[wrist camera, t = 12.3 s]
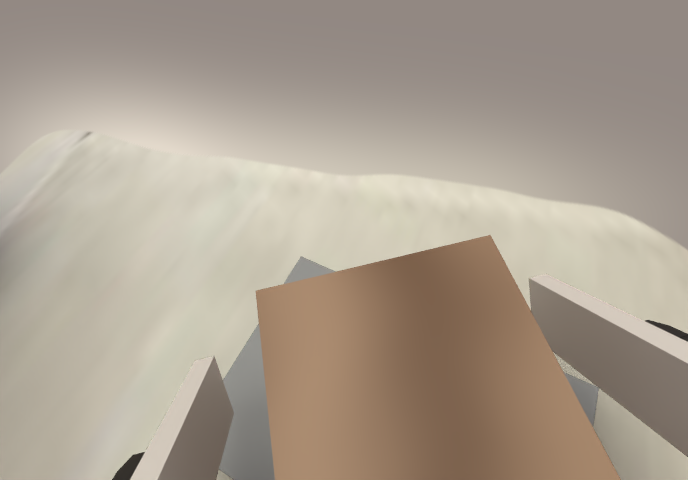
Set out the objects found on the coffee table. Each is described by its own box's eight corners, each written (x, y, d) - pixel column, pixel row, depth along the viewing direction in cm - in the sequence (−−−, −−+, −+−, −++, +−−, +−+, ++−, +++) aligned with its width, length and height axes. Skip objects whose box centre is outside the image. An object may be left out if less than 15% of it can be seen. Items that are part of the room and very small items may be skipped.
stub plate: (195, 443, 19) (97, 445, 12) (304, 266, 24) (278, 197, 17) (536, 679, 14) (698, 912, 7) (583, 391, 19) (702, 364, 12)
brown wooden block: (339, 520, 16) (292, 646, 6) (312, 364, 19) (255, 290, 10) (484, 479, 16) (651, 537, 7) (432, 334, 20) (490, 235, 10)
